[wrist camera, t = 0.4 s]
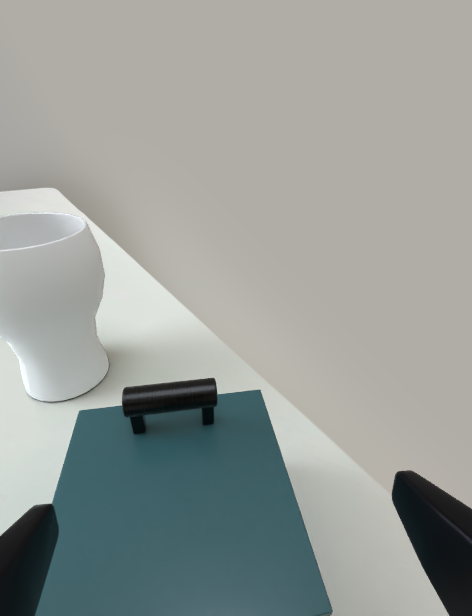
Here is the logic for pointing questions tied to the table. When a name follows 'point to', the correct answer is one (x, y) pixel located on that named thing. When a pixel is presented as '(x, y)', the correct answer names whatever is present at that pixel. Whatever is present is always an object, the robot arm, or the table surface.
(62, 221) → the white vase
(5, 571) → the robot arm
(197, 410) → the box lid
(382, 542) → the table surface
